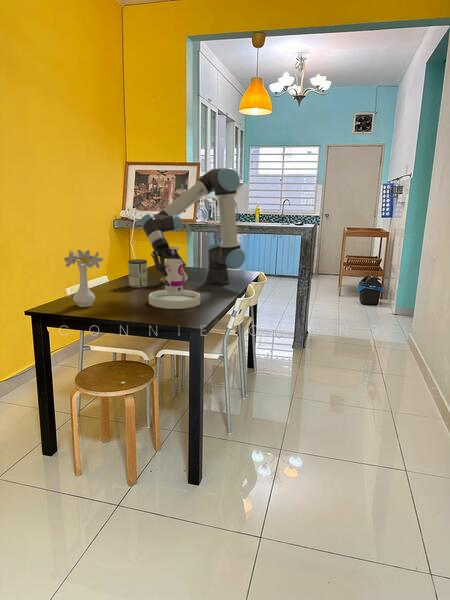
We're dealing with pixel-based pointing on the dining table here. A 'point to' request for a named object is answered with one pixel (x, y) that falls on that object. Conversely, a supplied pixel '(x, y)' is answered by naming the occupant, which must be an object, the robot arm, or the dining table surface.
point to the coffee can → (137, 273)
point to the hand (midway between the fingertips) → (178, 280)
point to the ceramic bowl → (174, 299)
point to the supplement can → (174, 275)
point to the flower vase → (83, 275)
